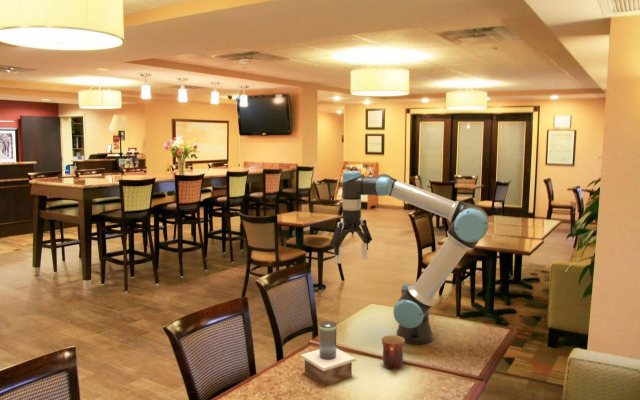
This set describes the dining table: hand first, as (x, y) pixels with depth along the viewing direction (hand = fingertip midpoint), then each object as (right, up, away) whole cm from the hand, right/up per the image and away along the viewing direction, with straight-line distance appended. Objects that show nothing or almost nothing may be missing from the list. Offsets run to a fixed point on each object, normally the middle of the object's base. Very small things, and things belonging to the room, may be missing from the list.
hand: (351, 260), depth 211 cm
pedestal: (-10, -38, -26) cm, 47 cm away
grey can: (-10, -31, -27) cm, 42 cm away
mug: (+14, -37, -20) cm, 45 cm away
